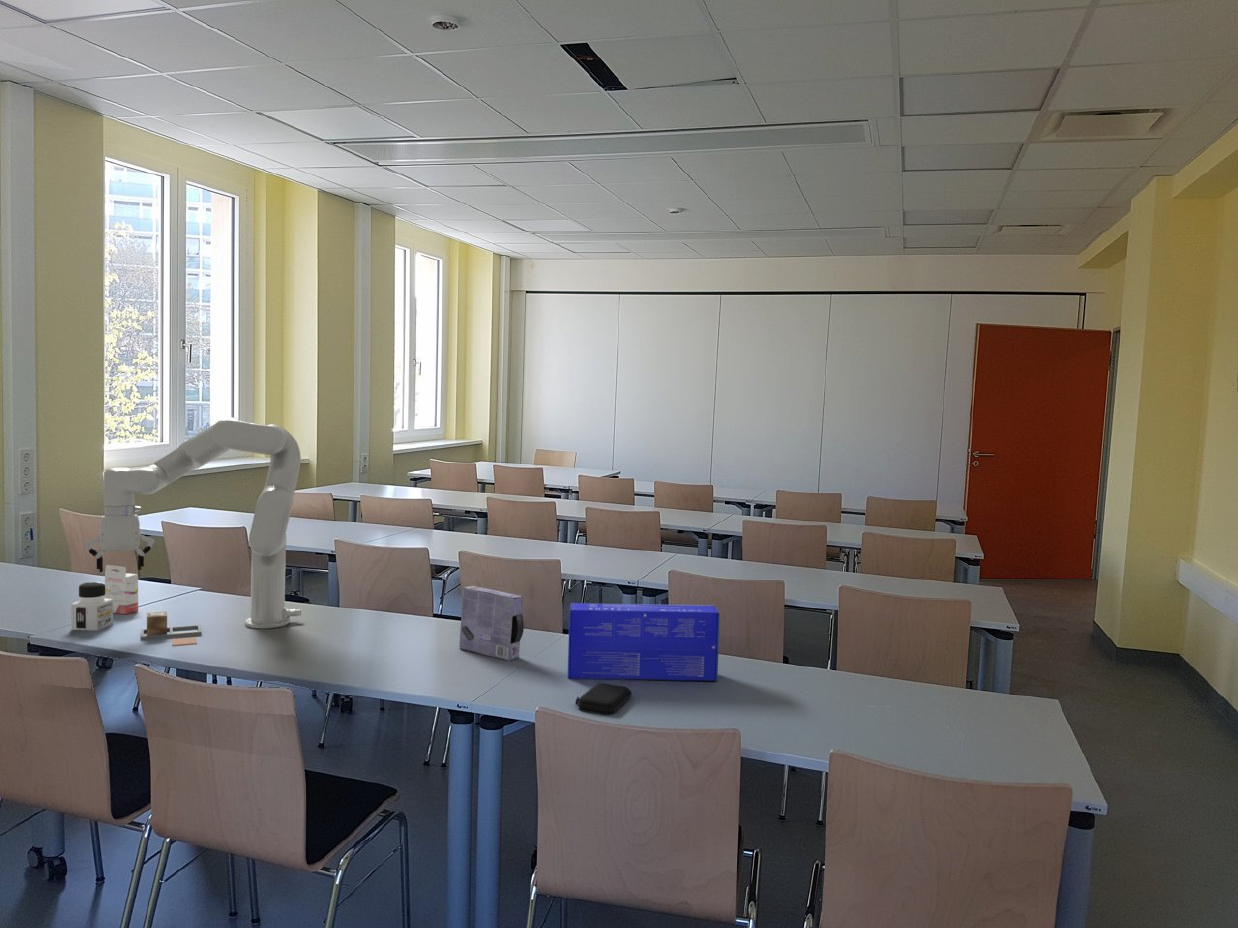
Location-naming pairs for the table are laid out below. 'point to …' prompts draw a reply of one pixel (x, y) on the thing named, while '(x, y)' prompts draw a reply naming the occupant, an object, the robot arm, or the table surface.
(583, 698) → the carrying case or bag
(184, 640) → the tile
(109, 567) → the ink cartridge box
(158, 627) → the brown labeled box
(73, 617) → the container
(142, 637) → the cubby strip
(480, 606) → the cake pan box
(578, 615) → the toner cartridge box
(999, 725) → the table surface
